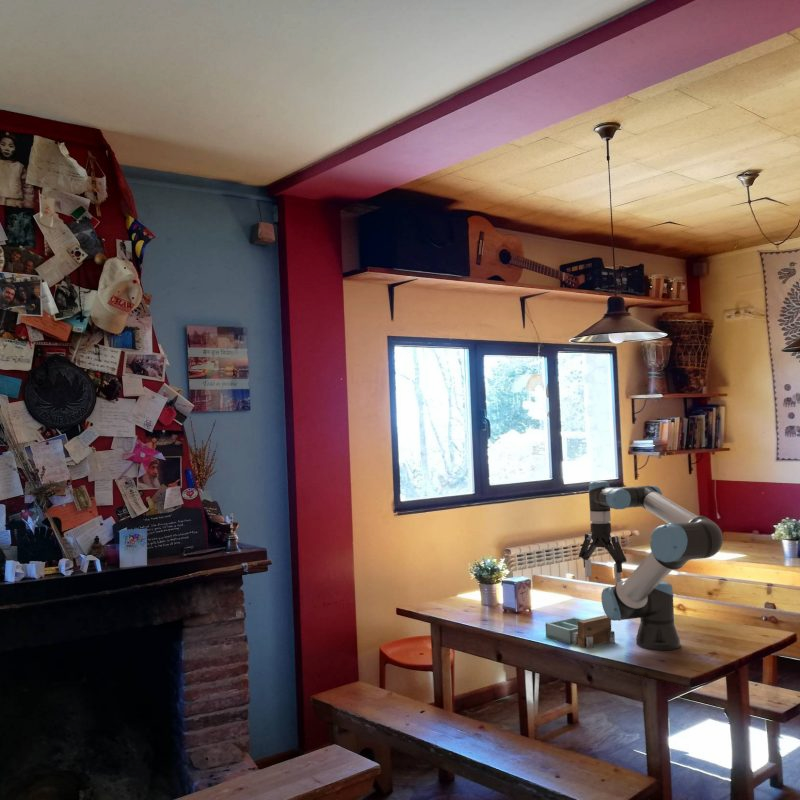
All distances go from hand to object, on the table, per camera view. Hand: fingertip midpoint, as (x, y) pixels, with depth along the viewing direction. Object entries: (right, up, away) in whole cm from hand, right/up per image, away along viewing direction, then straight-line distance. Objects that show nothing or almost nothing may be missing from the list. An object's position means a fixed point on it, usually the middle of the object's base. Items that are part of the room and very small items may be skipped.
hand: (602, 579), depth 297 cm
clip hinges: (-5, -22, -7) cm, 23 cm away
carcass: (-11, -23, +3) cm, 25 cm away
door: (-5, -22, -7) cm, 24 cm away
